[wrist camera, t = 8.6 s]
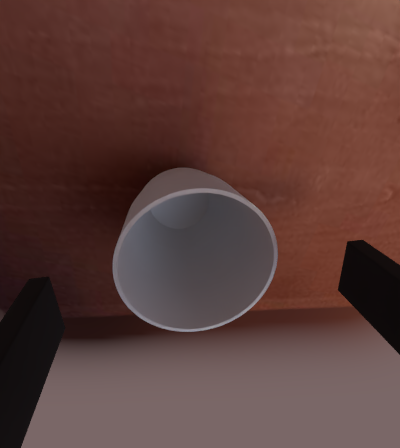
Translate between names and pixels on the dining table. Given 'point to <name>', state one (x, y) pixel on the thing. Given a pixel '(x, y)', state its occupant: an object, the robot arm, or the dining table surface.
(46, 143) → the dining table surface
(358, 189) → the dining table surface
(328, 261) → the dining table surface
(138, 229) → the cup
